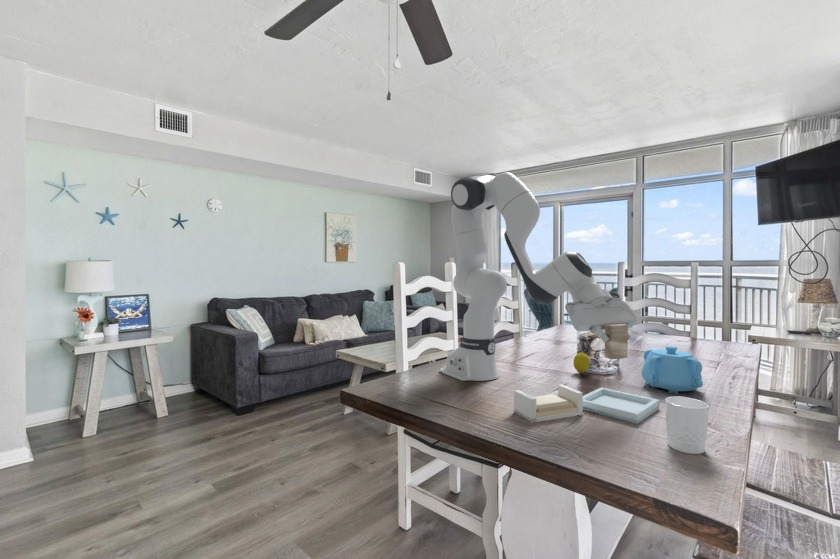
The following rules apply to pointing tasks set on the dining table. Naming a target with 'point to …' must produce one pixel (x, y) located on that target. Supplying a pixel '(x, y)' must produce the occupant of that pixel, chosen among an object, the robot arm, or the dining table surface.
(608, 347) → the upright wood block
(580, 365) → the lemon
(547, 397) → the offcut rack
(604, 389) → the ceramic tray
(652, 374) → the decorative pot
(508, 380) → the dining table surface
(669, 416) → the white cup
